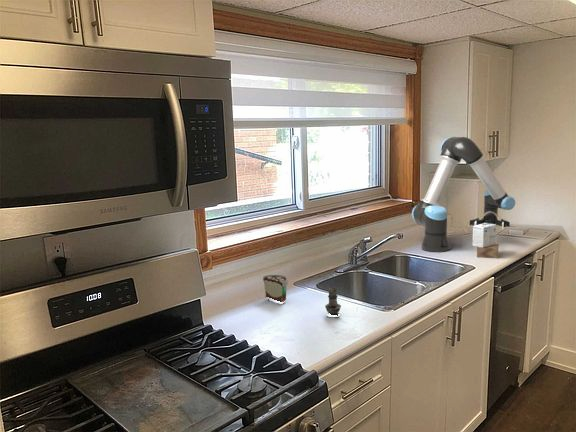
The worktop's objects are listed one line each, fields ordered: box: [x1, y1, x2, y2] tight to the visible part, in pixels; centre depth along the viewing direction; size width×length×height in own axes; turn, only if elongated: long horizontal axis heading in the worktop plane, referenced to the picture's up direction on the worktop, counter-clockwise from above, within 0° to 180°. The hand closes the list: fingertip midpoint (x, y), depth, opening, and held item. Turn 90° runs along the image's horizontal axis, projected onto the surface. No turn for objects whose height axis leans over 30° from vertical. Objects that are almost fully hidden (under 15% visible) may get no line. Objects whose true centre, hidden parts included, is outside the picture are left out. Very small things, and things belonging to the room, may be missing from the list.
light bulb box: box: [472, 223, 497, 248], centre depth 243 cm, size 11×7×11 cm, turn 123°
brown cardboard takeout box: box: [476, 243, 499, 259], centre depth 243 cm, size 10×10×5 cm
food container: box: [262, 274, 289, 302], centre depth 191 cm, size 12×6×10 cm, turn 44°
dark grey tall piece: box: [324, 284, 342, 316], centre depth 173 cm, size 6×6×12 cm
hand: (488, 226), depth 250 cm, fingers open, 13 cm apart
